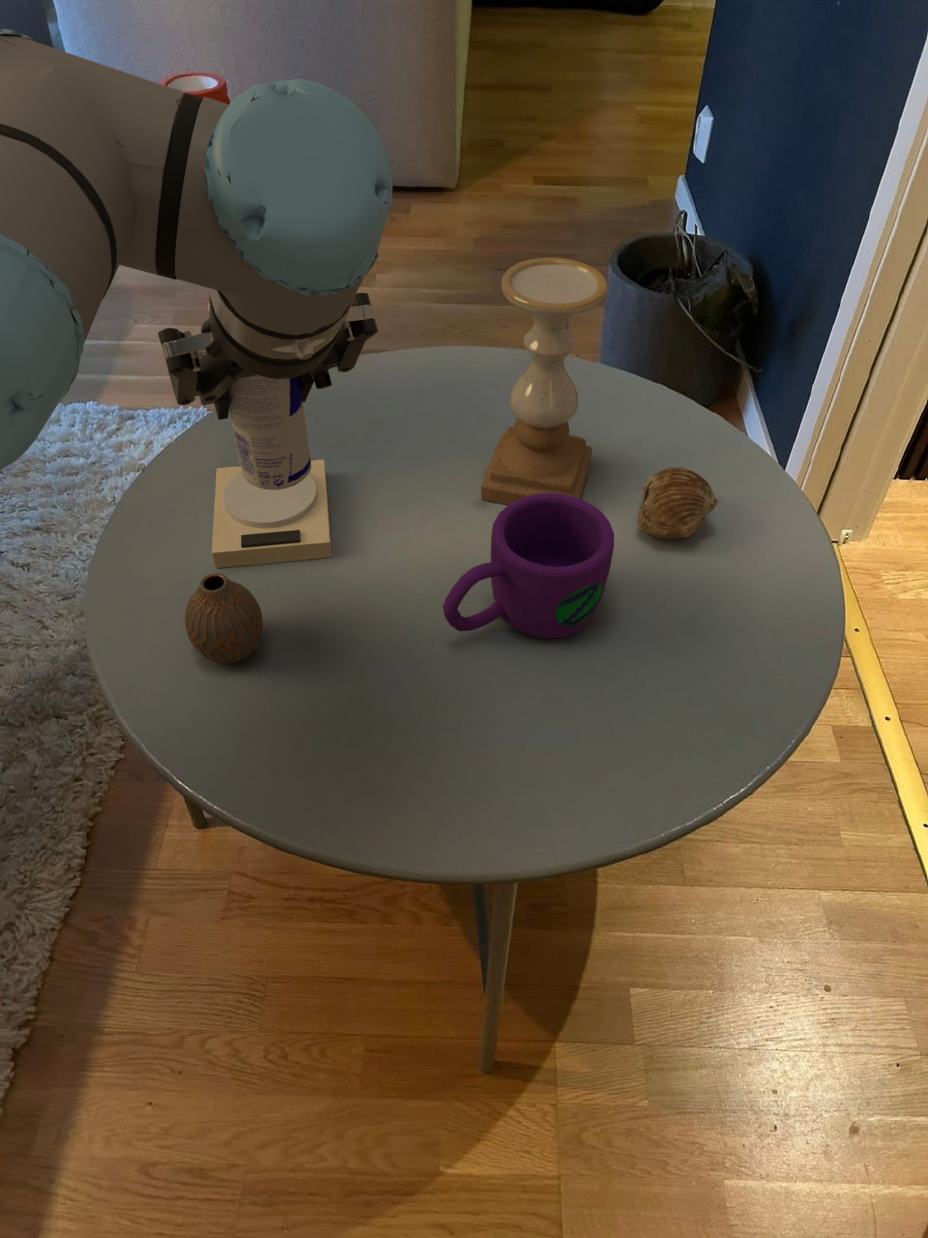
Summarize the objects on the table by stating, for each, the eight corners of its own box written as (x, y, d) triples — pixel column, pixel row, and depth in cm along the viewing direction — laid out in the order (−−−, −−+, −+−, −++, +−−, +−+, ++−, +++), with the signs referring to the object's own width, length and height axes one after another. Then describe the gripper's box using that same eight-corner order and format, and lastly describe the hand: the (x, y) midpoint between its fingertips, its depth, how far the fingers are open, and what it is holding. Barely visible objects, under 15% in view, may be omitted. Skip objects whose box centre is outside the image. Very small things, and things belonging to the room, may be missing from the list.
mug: (559, 551, 96) (568, 476, 89) (625, 619, 89) (641, 545, 82) (415, 612, 90) (412, 537, 82) (475, 690, 83) (477, 616, 76)
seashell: (711, 512, 102) (641, 492, 103) (730, 461, 96) (657, 440, 98) (698, 563, 95) (624, 541, 96) (718, 511, 90) (640, 488, 91)
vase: (182, 667, 85) (159, 602, 78) (213, 615, 89) (194, 549, 83) (251, 681, 84) (234, 616, 77) (278, 627, 88) (265, 562, 82)
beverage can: (322, 481, 74) (300, 309, 63) (257, 502, 72) (222, 329, 61) (296, 444, 77) (271, 275, 66) (233, 464, 75) (196, 293, 64)
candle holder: (575, 517, 100) (602, 316, 82) (479, 499, 102) (485, 299, 84) (592, 458, 107) (619, 262, 89) (502, 443, 109) (511, 248, 91)
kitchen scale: (215, 568, 94) (210, 546, 92) (220, 483, 103) (215, 462, 101) (332, 557, 95) (329, 536, 93) (326, 474, 104) (323, 453, 102)
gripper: (127, 395, 48) (153, 465, 71) (452, 331, 53) (380, 416, 75) (87, 255, 48) (125, 370, 70) (419, 203, 52) (356, 327, 75)
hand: (257, 394), depth 73 cm, fingers closed on beverage can, 6 cm apart
